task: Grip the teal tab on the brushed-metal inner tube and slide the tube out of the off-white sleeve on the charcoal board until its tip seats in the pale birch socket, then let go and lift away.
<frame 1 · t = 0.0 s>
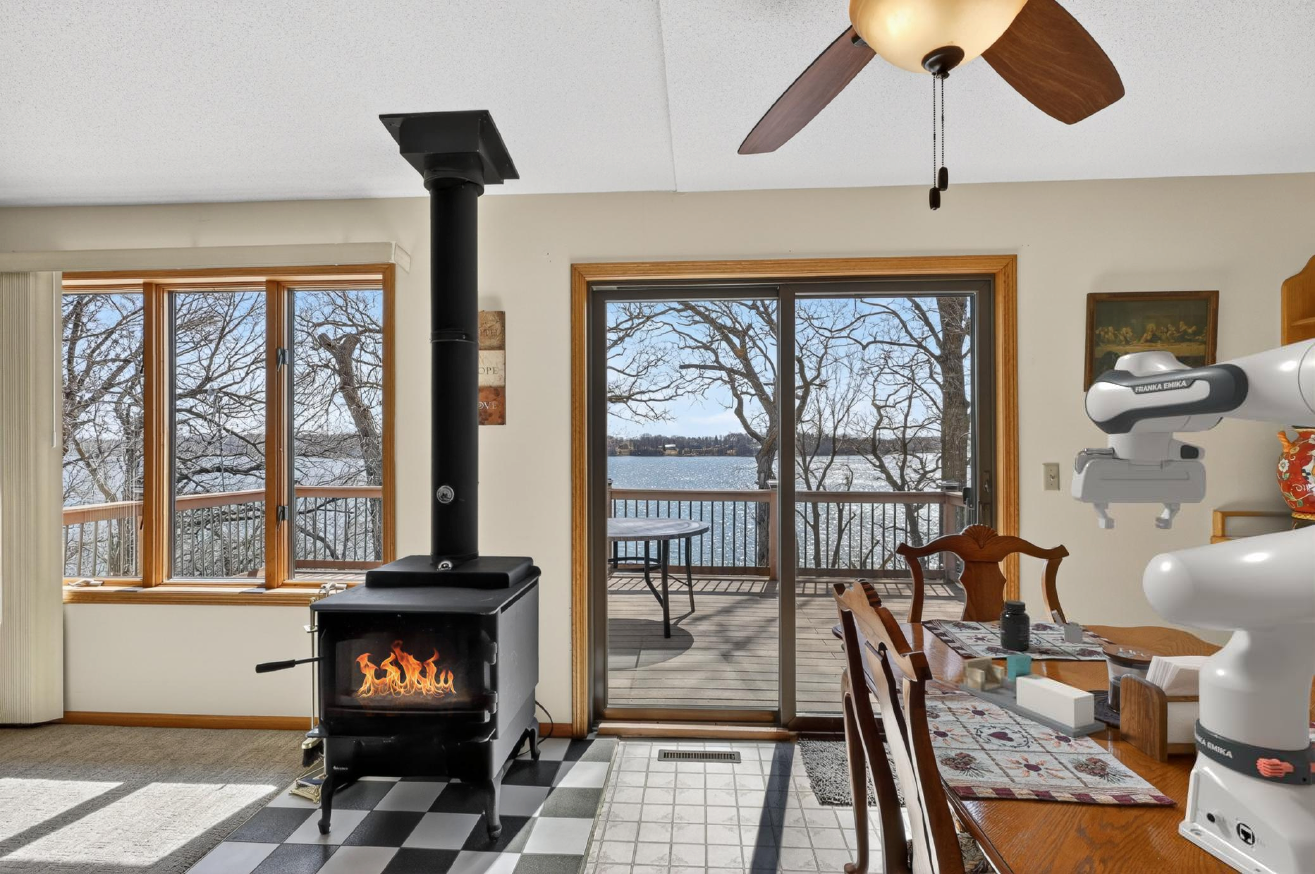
hand: (1134, 528, 112), 39 cm above the table, tool pointing down, fingers open, 8 cm apart
socket block: (983, 673, 143), point 4 cm above the table
supplement bottle: (1015, 648, 172), on the table
tube stand: (1026, 707, 133), on the table
slip tube: (1041, 683, 130), point 6 cm above the table, slide at 0.0 cm
lighter: (1066, 641, 178), on the table
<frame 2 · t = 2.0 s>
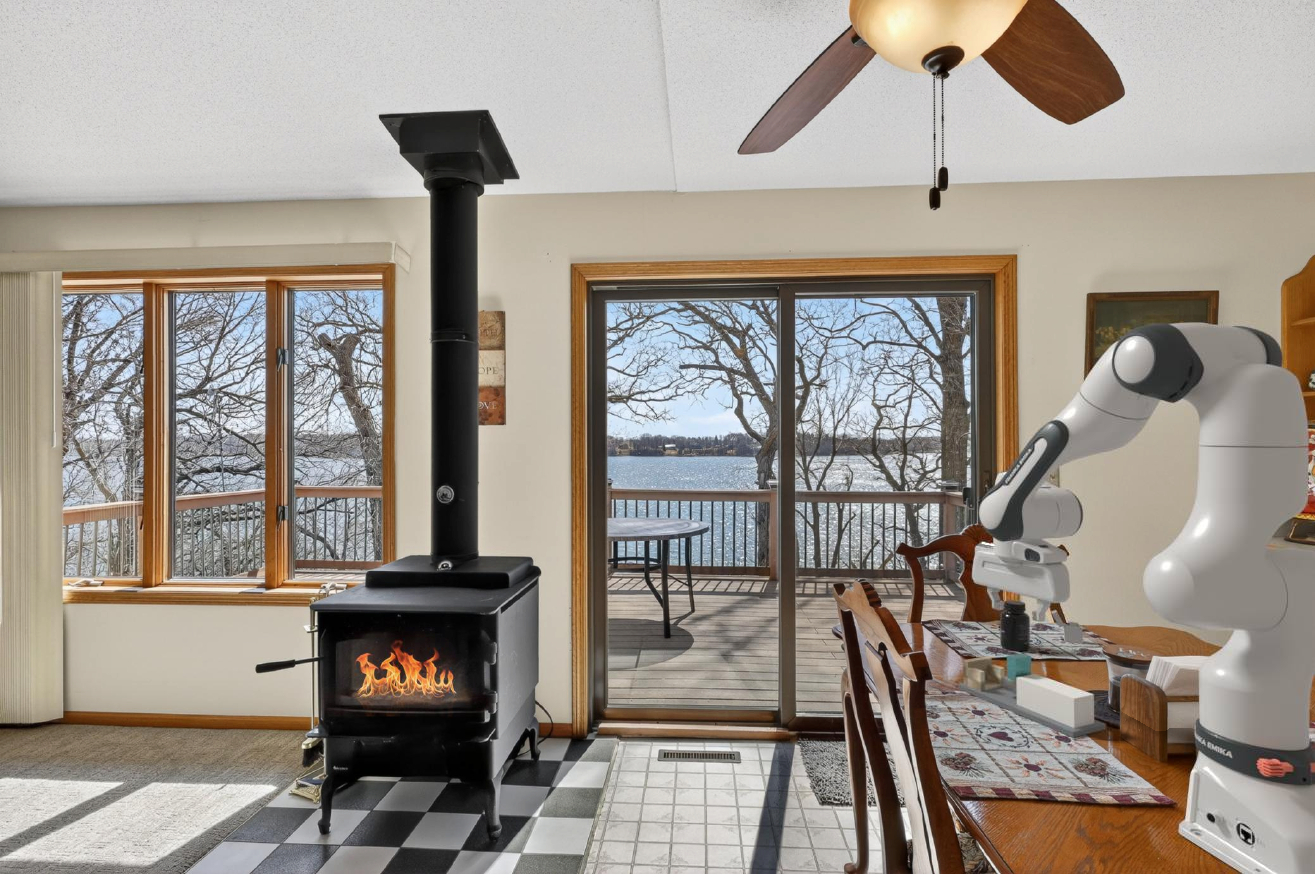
hand: (1017, 614, 135), 18 cm above the table, tool pointing down, fingers open, 8 cm apart
nothing on the table moved.
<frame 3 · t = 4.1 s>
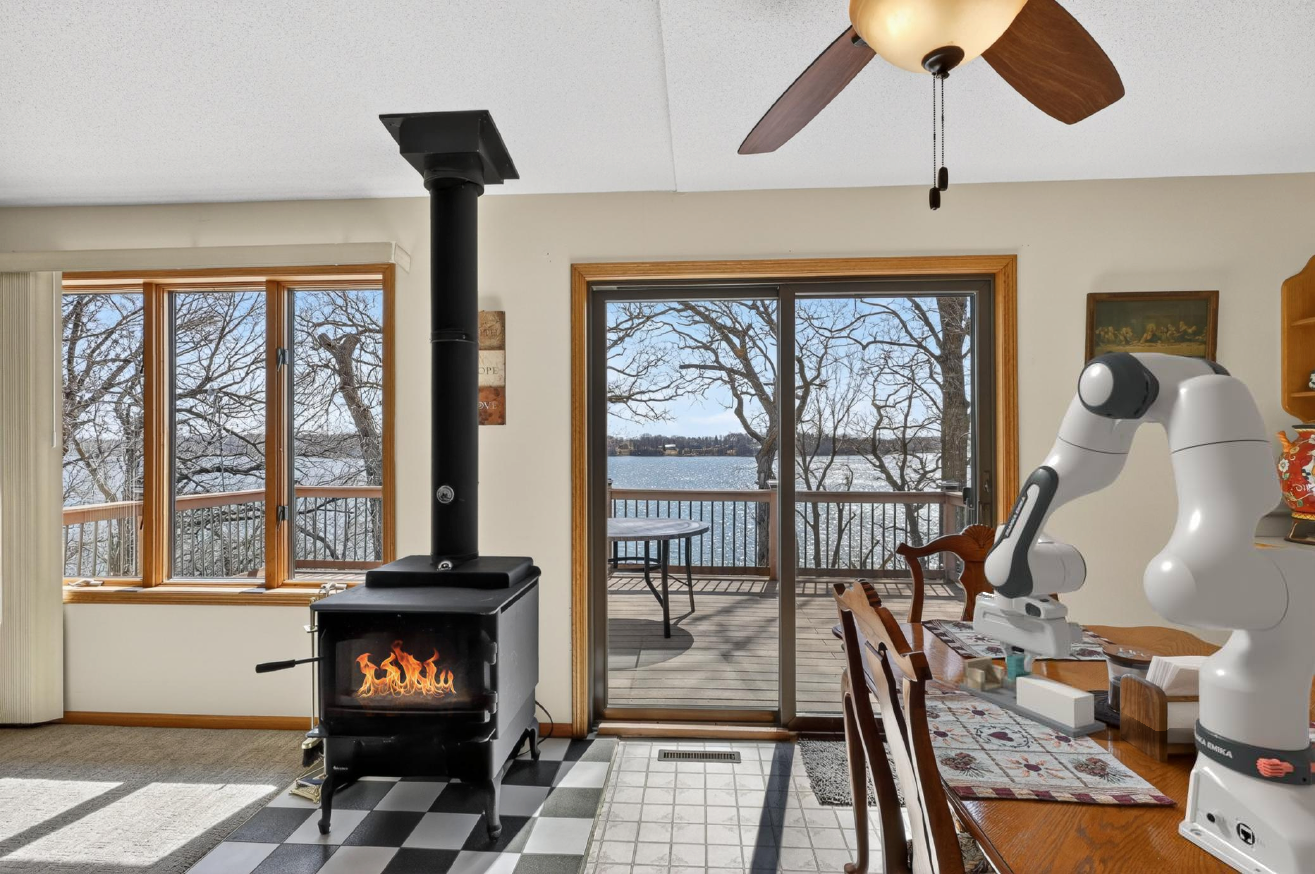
hand: (1018, 667, 135), 7 cm above the table, tool pointing down, fingers closed on slip tube, 2 cm apart
slip tube: (1041, 683, 130), point 6 cm above the table, slide at 0.0 cm, touching gripper
everything else where it was.
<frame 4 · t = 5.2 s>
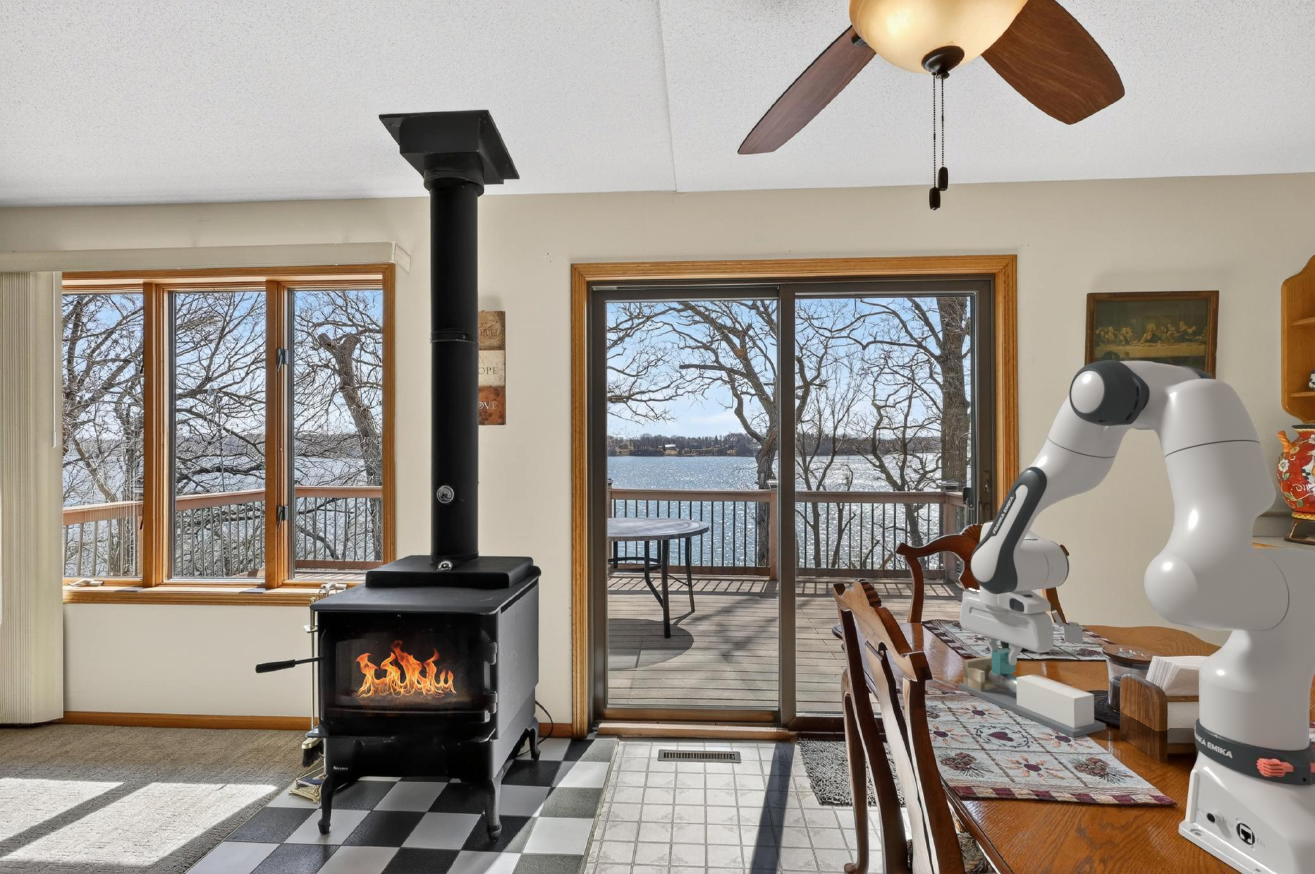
hand: (1003, 661, 138), 8 cm above the table, tool pointing down, fingers closed on slip tube, 2 cm apart
slip tube: (1025, 677, 133), point 6 cm above the table, slide at 3.7 cm, touching gripper
everything else where it was.
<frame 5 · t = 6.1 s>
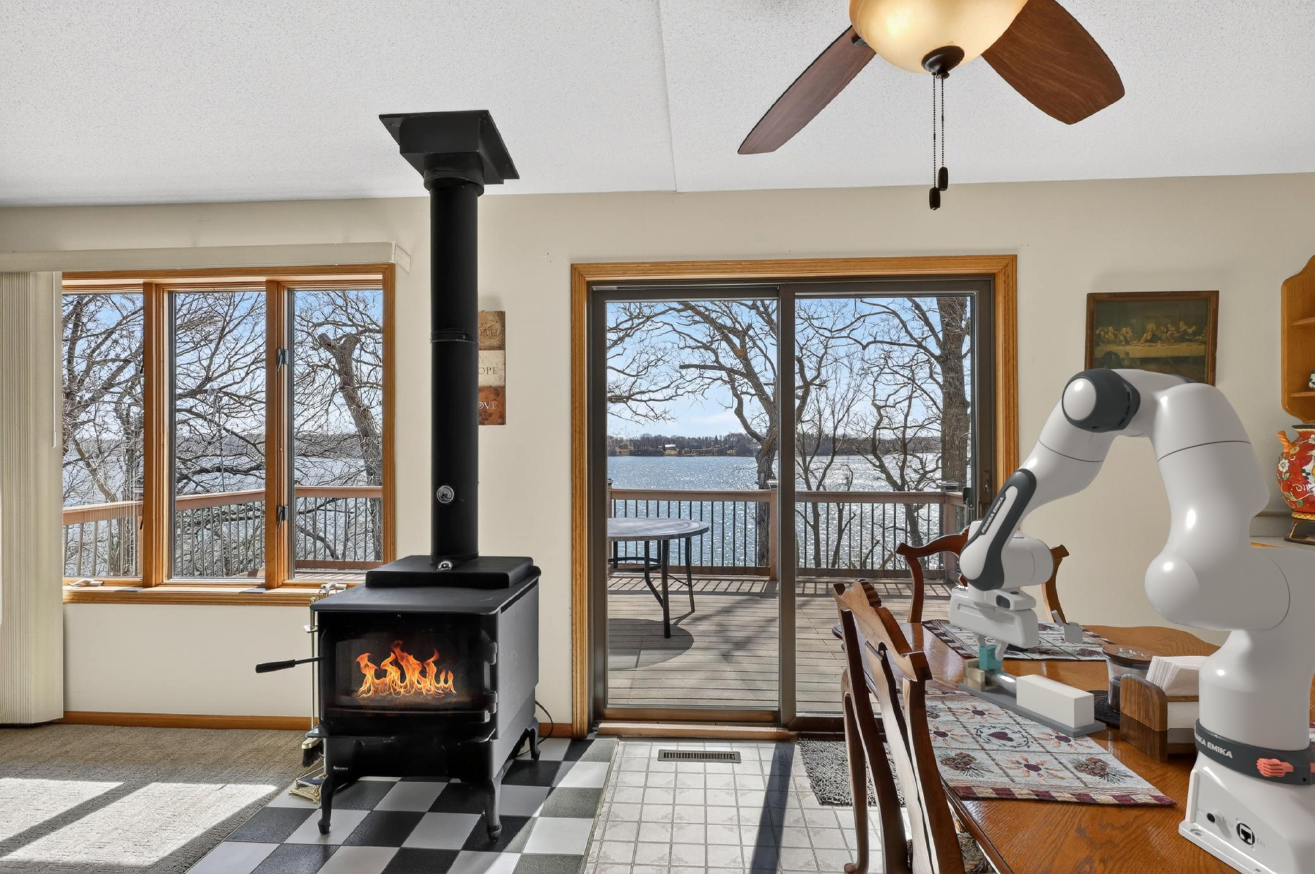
hand: (990, 657, 141), 8 cm above the table, tool pointing down, fingers closed on slip tube, 2 cm apart
slip tube: (1011, 672, 136), point 6 cm above the table, slide at 6.9 cm, touching gripper
everything else where it was.
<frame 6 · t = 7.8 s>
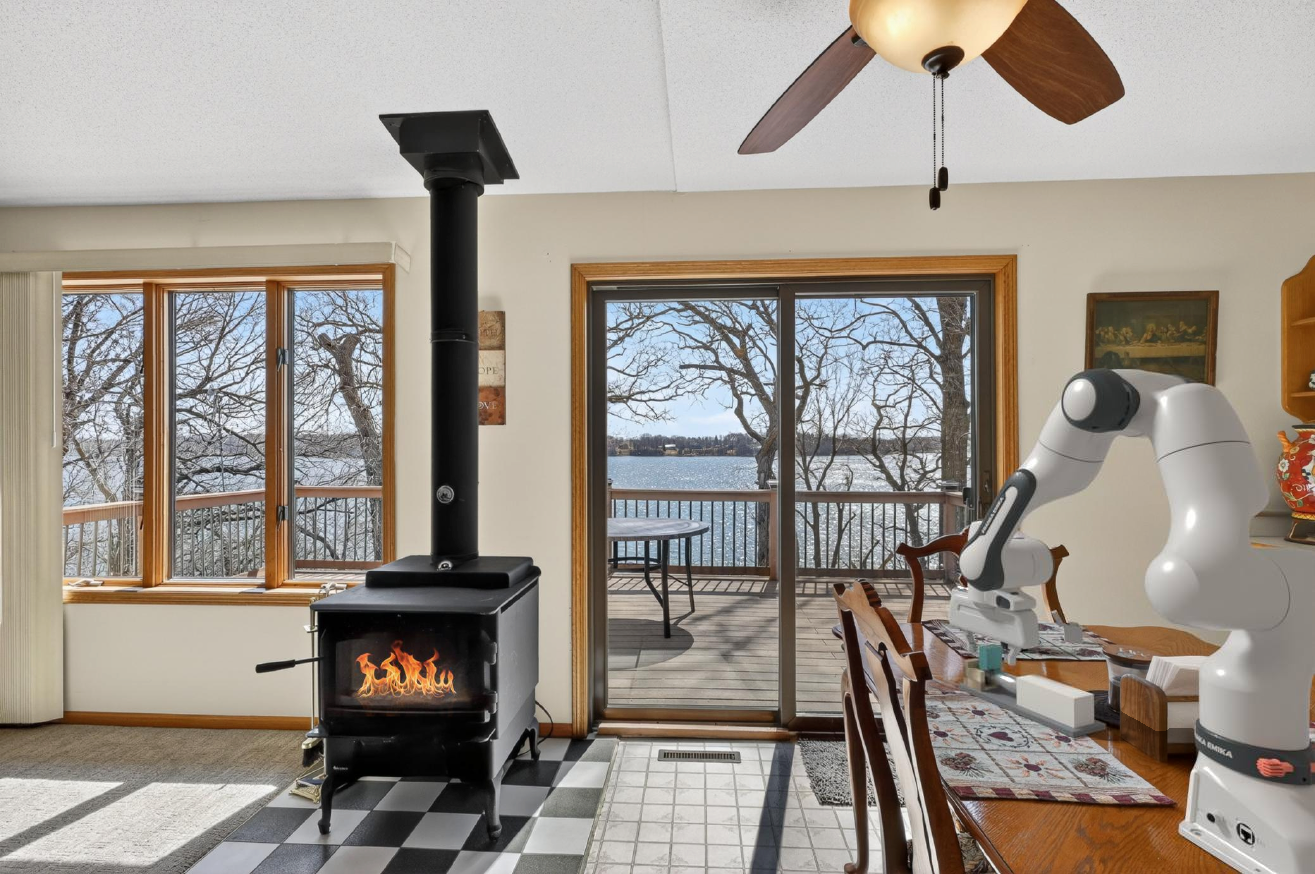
hand: (990, 657, 141), 8 cm above the table, tool pointing down, fingers open, 8 cm apart
slip tube: (1011, 672, 136), point 6 cm above the table, slide at 6.9 cm
everything else where it was.
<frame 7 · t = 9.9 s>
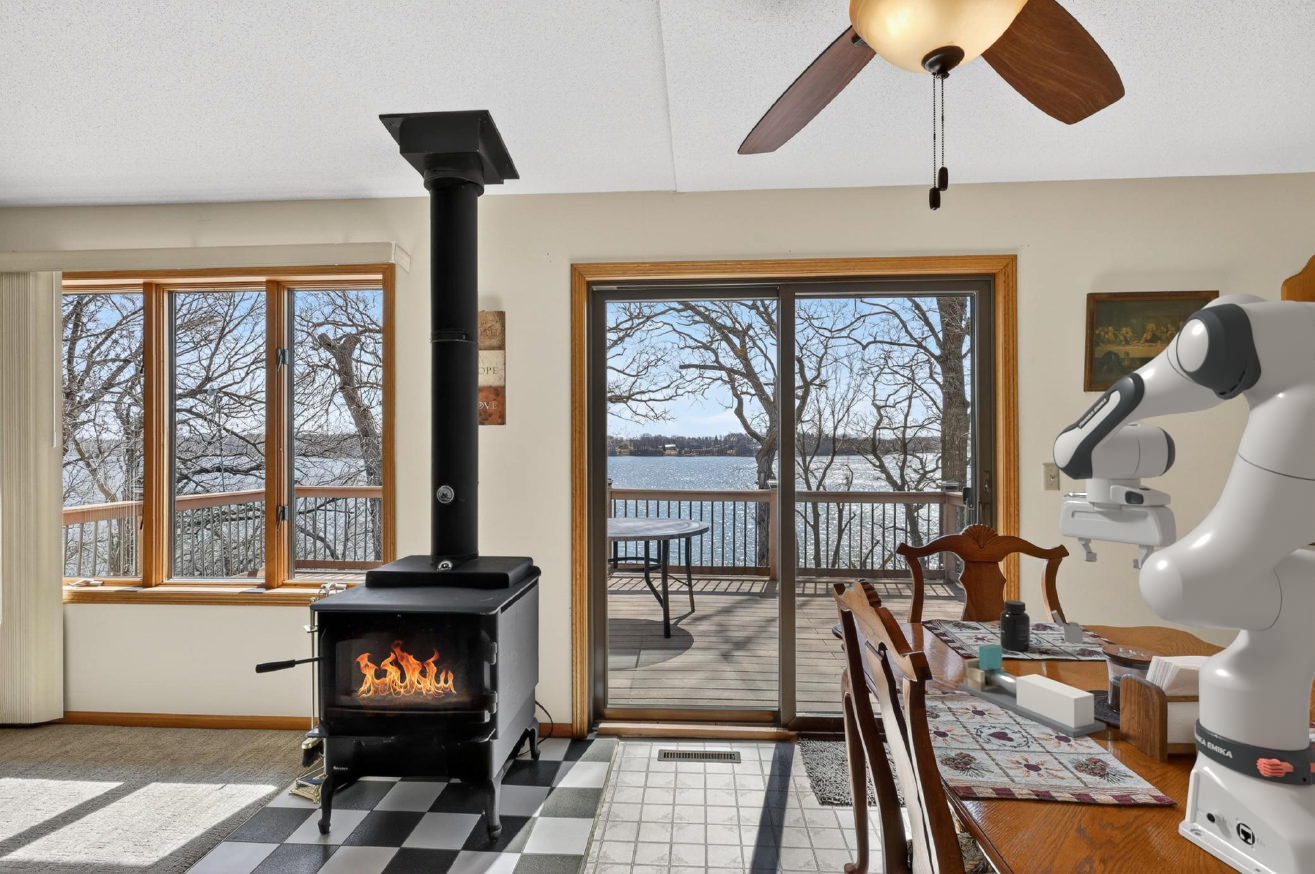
hand: (1114, 565, 128), 30 cm above the table, tool pointing down, fingers open, 8 cm apart
nothing on the table moved.
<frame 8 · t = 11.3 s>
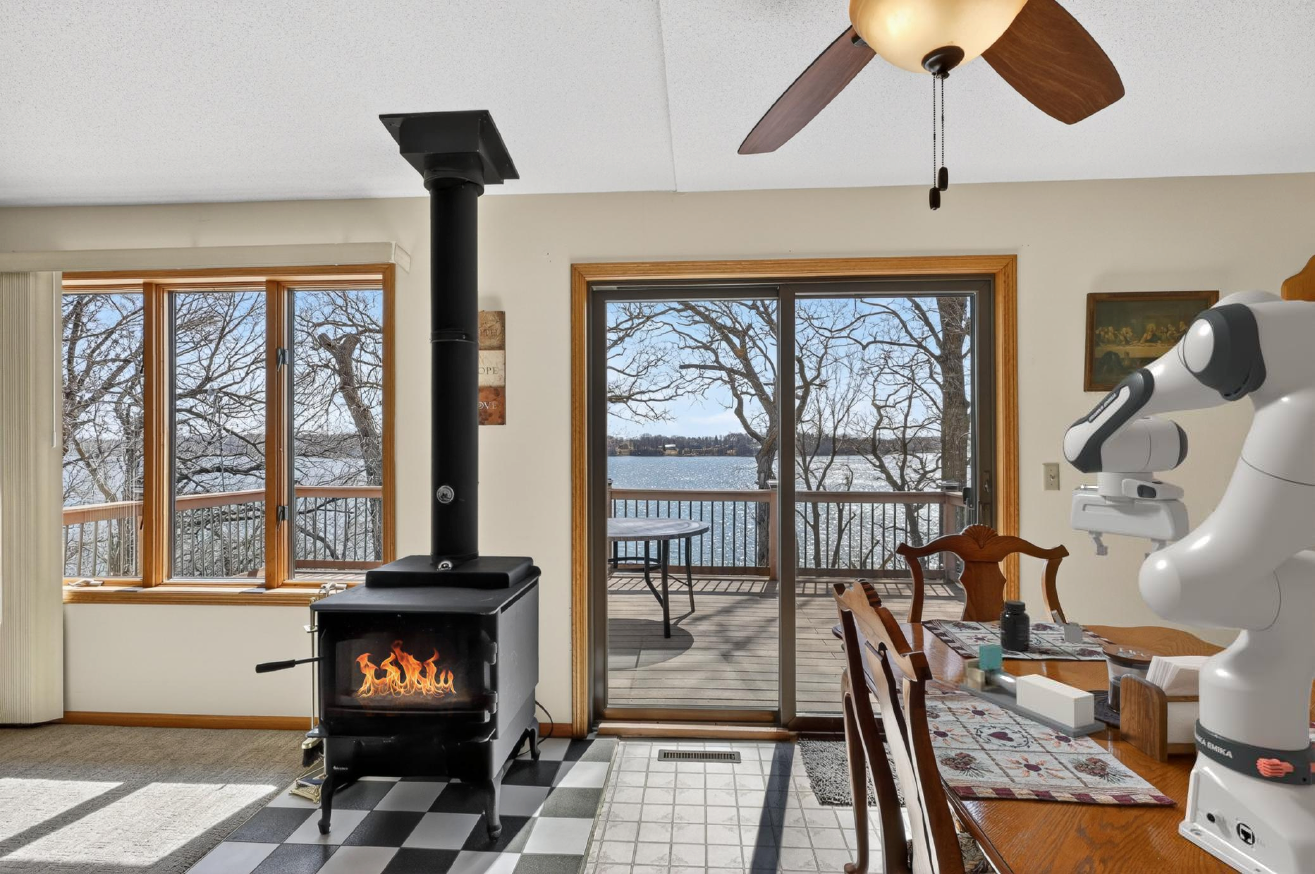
hand: (1125, 558, 127), 31 cm above the table, tool pointing down, fingers open, 8 cm apart
nothing on the table moved.
at the end: slip tube slide at 6.9 cm; the gripper is holding nothing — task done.
